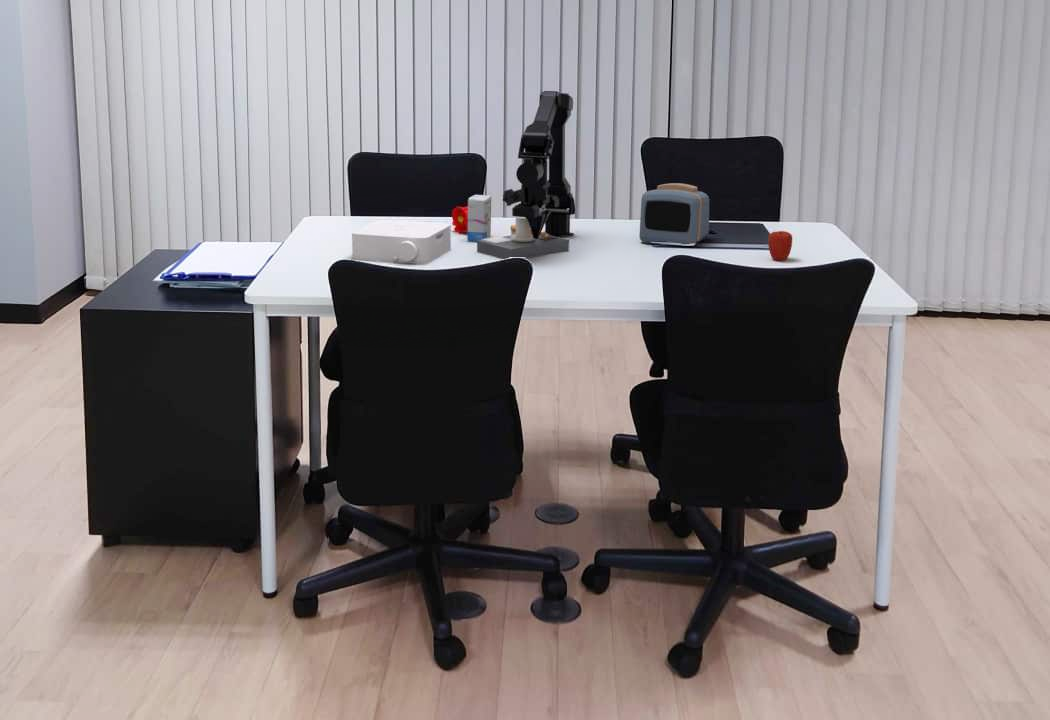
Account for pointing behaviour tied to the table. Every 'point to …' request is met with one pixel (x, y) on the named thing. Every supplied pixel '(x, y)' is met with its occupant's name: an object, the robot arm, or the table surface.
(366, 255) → the projector
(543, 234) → the orange matchstick
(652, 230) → the retro portable television
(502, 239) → the grey flat block
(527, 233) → the plug
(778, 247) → the red rounded lump
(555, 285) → the table surface
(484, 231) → the ink box
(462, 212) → the flower
